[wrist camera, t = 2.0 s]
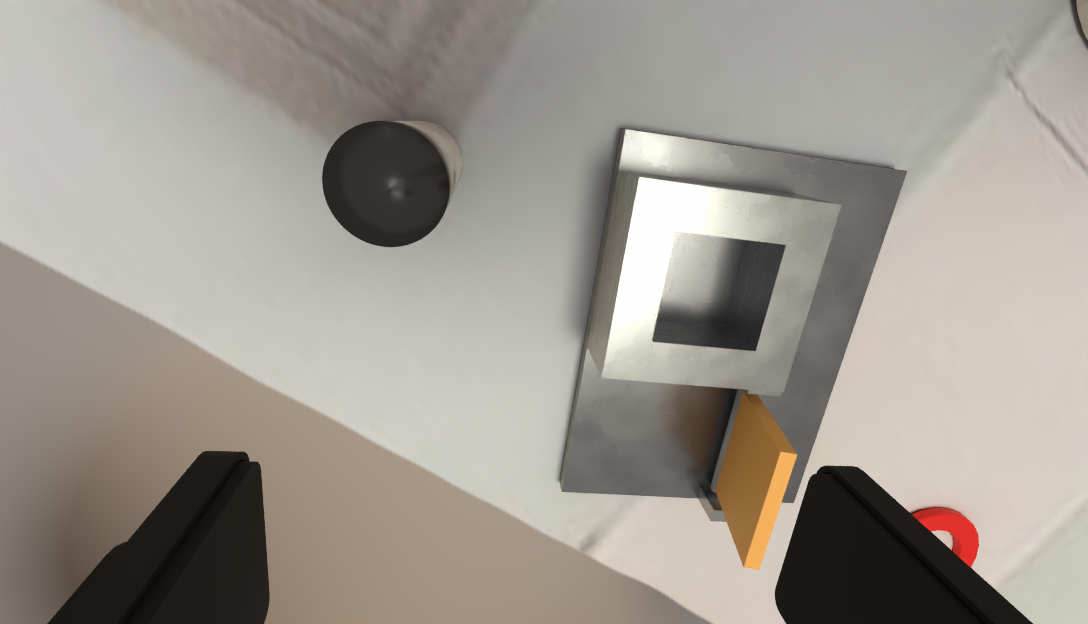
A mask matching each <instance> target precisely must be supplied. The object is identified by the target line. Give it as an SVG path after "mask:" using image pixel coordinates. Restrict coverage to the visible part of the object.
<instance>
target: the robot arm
mask: <svg viewBox="0 0 1088 624" xmlns="http://www.w3.org/2000/svg"><path fill="white" fill-rule="evenodd" d="M1076 3H1077V12H1078V15H1079V19H1080V23H1081V26H1082V30H1083V32H1084V34H1085V36H1086V38H1087V40H1088V0H1076ZM775 600H776V605H777V608H778V610H779V612H780V614H781V616H782V617H783V619H784V621H785V622H786V624H1033V623H1032V622H1031V621H1029V620H1028V619H1027V618H1026V617H1025V616H1024V615H1023V614H1022V613H1021V612H1019V611H1018V610H1017V609H1016V608H1015V607H1014V606H1013V605H1012V604H1011V603H1009V602H1008V601H1007V600H1006V599H1005V598H1004V597H1003V596H1002V595H1001V594H999V593H998V592H997V591H996V590H995V589H994V588H993V587H992V586H991V585H989V584H988V583H987V582H986V581H985V580H984V579H983V578H982V577H981V576H979V575H978V574H977V573H976V572H975V571H974V570H973V569H972V568H971V567H969V566H968V565H967V564H966V563H965V562H964V561H963V560H962V559H960V558H959V557H958V556H957V555H956V554H955V553H954V552H953V551H952V550H950V549H949V548H948V547H947V546H946V545H945V544H944V543H943V542H942V541H940V540H939V539H938V538H937V537H936V536H935V535H934V534H933V533H932V532H930V531H929V530H928V529H927V528H926V527H925V526H924V525H923V524H922V523H920V522H919V521H918V520H917V519H916V518H915V517H914V516H913V515H912V514H910V513H909V512H908V511H907V510H906V509H905V508H904V507H903V506H902V505H900V504H899V503H898V502H897V501H896V500H895V499H894V498H893V497H892V496H890V495H889V494H888V493H887V492H886V491H885V490H884V489H883V488H882V487H880V486H879V485H878V484H877V483H876V482H875V481H874V480H873V479H872V478H870V477H869V476H868V475H867V474H866V473H865V472H864V471H863V470H861V469H859V468H858V467H853V466H823V467H821V468H820V469H819V470H818V471H817V473H816V474H814V475H812V476H811V477H810V479H809V481H808V485H807V488H806V491H805V494H804V498H803V501H802V504H801V507H800V511H799V514H798V517H797V520H796V524H795V527H794V530H793V533H792V537H791V540H790V543H789V546H788V550H787V553H786V556H785V559H784V563H783V566H782V569H781V572H780V576H779V579H778V582H777V585H776V589H775ZM268 606H269V581H268V566H267V551H266V536H265V521H264V507H263V493H262V478H261V467H260V464H259V463H258V462H249V457H248V455H247V453H245V452H231V451H205V452H202V453H201V454H200V455H199V456H198V457H197V459H196V460H195V461H194V462H193V463H192V464H191V466H190V467H189V468H188V469H187V471H186V472H185V473H184V474H183V475H182V476H181V478H180V479H179V480H178V481H177V482H176V484H175V485H174V486H173V487H172V488H171V490H170V491H169V492H168V493H167V495H166V496H165V497H164V498H163V499H162V500H161V502H160V503H159V504H158V505H157V507H156V508H155V509H154V510H153V511H152V513H151V514H150V515H149V516H148V517H147V518H146V520H145V521H144V522H143V523H142V524H141V526H140V527H139V528H138V529H137V530H136V532H135V533H134V534H133V535H132V537H131V538H130V539H129V540H128V541H127V542H124V543H122V544H120V545H117V546H116V547H114V548H113V549H112V550H111V551H110V552H109V553H108V554H107V555H106V556H105V557H104V558H103V559H102V561H101V562H100V563H99V564H98V565H97V566H96V568H95V569H94V570H93V571H92V573H91V574H90V575H89V576H88V577H87V578H86V579H85V581H84V582H83V583H82V584H81V585H80V587H78V589H77V590H76V591H75V592H74V593H73V595H72V596H71V597H70V598H69V599H68V600H67V602H66V603H65V604H64V605H63V606H62V607H61V609H60V610H59V611H58V612H57V613H56V615H55V616H54V617H53V618H52V619H51V620H50V621H49V623H48V624H264V622H265V619H266V615H267V612H268Z"/></svg>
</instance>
